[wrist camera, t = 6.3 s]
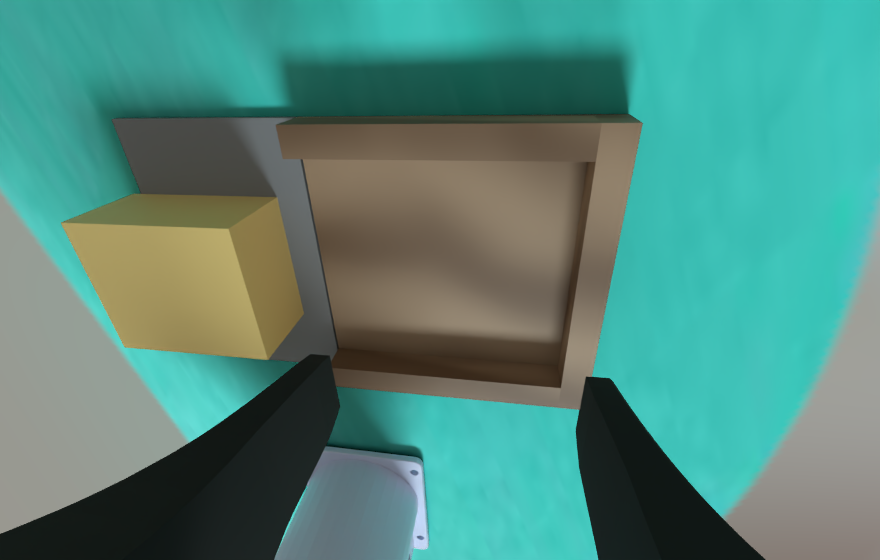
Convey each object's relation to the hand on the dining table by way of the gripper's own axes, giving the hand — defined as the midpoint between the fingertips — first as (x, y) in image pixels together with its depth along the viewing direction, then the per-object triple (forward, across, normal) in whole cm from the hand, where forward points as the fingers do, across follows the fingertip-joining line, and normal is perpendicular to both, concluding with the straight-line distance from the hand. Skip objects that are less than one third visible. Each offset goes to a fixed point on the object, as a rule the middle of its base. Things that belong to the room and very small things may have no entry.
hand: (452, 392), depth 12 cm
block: (+7, +12, 0) cm, 14 cm away
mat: (+8, +11, 0) cm, 13 cm away
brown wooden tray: (+8, +1, 0) cm, 8 cm away
